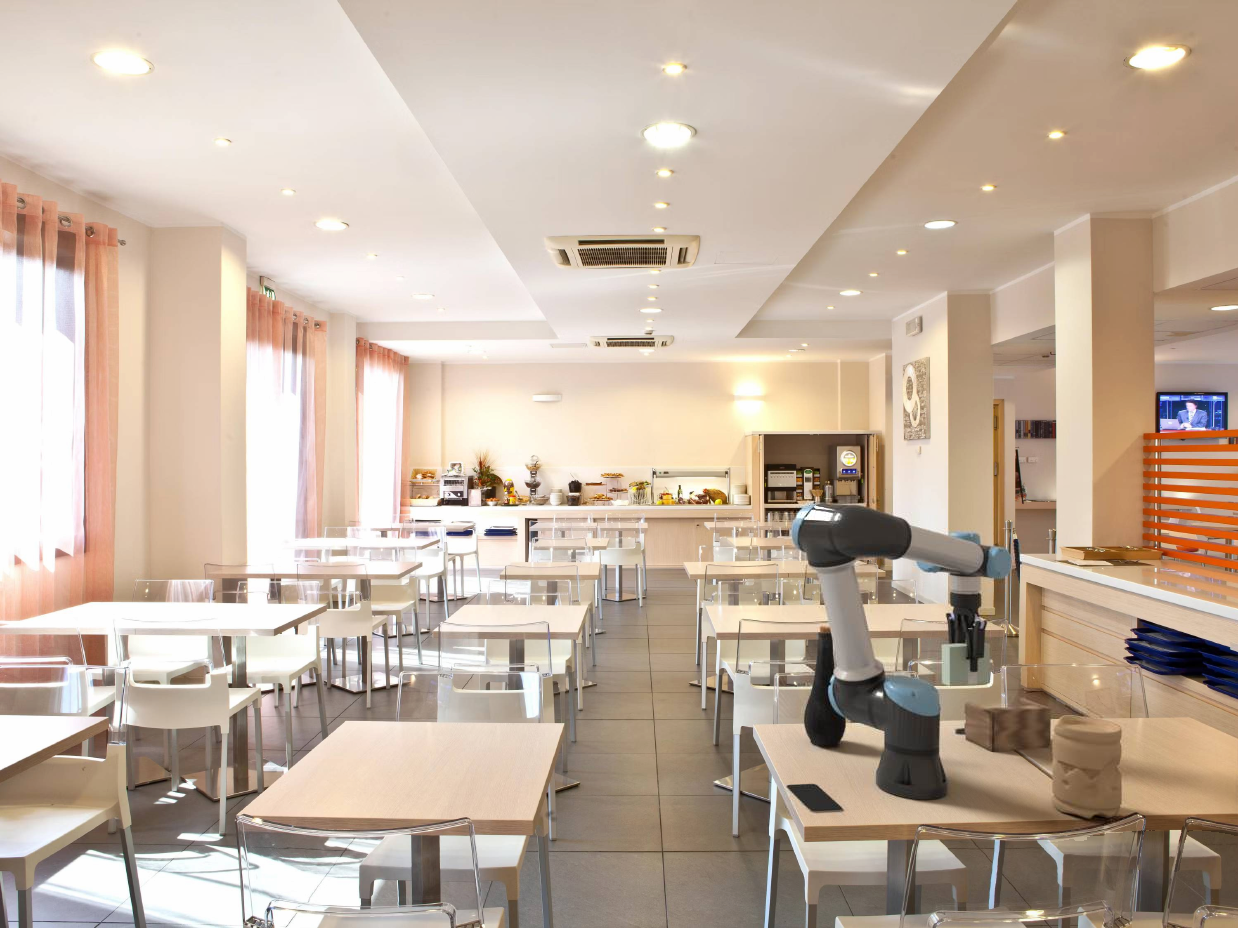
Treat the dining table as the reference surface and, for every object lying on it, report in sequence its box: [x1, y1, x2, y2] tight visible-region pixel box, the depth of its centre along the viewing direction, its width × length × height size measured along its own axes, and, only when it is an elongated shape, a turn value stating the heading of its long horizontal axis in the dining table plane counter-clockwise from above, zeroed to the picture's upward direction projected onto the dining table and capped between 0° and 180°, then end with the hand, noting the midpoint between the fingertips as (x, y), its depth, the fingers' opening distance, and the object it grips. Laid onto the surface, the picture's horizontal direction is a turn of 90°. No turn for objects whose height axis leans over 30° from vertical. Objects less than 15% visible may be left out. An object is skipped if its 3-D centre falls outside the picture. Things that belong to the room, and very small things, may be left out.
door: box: [941, 642, 991, 687], centre depth 213 cm, size 12×3×10 cm, turn 104°
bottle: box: [803, 626, 847, 749], centre depth 213 cm, size 11×11×30 cm
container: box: [1051, 714, 1123, 820], centre depth 172 cm, size 13×13×18 cm
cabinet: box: [954, 697, 1052, 752], centre depth 218 cm, size 18×16×10 cm
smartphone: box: [785, 783, 844, 814], centre depth 176 cm, size 7×1×15 cm
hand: (966, 681), depth 213 cm, fingers closed on door, 3 cm apart
